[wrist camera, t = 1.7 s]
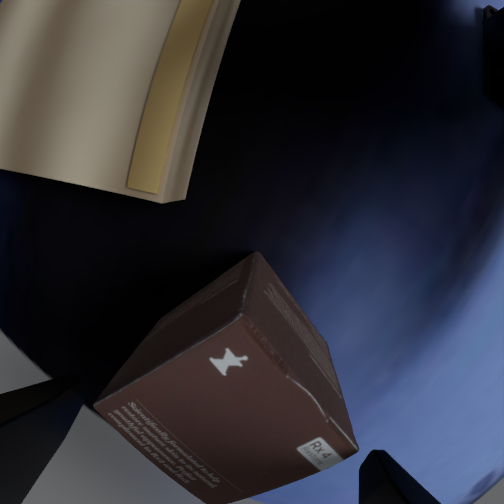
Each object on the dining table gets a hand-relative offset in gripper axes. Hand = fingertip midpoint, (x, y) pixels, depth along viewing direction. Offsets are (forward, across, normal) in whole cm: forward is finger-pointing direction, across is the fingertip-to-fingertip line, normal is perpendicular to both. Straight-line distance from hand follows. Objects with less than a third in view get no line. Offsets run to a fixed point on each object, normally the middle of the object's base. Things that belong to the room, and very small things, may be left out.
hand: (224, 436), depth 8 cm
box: (+7, 0, 0) cm, 7 cm away
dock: (+7, +11, -11) cm, 17 cm away
